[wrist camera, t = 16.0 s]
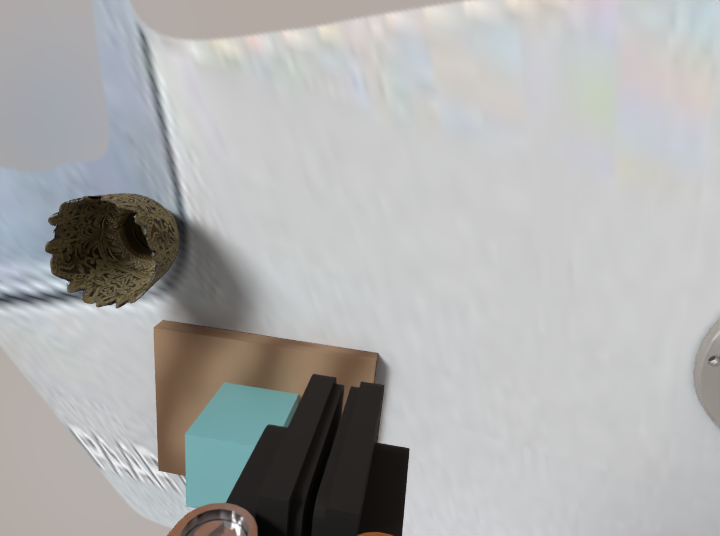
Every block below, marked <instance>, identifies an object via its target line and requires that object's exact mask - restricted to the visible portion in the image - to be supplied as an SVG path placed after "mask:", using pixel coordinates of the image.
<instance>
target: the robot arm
mask: <svg viewBox="0 0 720 536" xmlns="http://www.w3.org/2000/svg"><path fill="white" fill-rule="evenodd" d="M693 373H694V387H695V390H696V393H697V396H698V399H699V401H700V403H701V405H702V406H703V408H704V410H705V411H706V413H707V414H708V415H709V416H710V417H711V418H712V419H713V421H714V422H715V423H716V424H717V425H718V426H719V427H720V319H719V320H718V321H717V322H716V323H715V324H714V326H713V327H712V328H711V329H710V331H709V332H708V334H707V335H706V337H705V338H704V340H703V341H702V343H701V346H700V348H699V351H698V353H697V356H696V360H695V366H694V372H693ZM383 393H384V385H381V384H375V383H368V382H362V381H361V383H360V387H354V386H351V388H350V391H349V394H348V397H347V400H346V404H345V407H344V410H343V413H342V408H343V397H344V385H341V384H337V379H336V377H331V376H325V375H318V374H313V375H312V376H311V378H310V381H309V383H308V385H307V387H306V389H305V391H304V394H303V396H302V398H301V400H300V402H299V404H298V407H297V409H296V411H295V413H294V415H293V417H292V420H291V422H290V424H289V426H288V427H283V426H277V425H271V424H269V425H267V426H266V428H265V429H264V431H263V433H262V435H261V437H260V439H259V440H258V442H257V444H256V446H255V448H254V450H253V452H252V454H251V455H250V457H249V459H248V461H247V463H246V465H245V467H244V469H243V471H242V472H241V474H240V476H239V478H238V480H237V482H236V484H235V486H234V488H233V489H232V491H231V493H230V495H229V497H228V499H227V501H226V503H212V504H208V505H205V506H201V507H198V508H196V509H195V510H193V511H191V512H189V513H187V514H186V515H185V516H184V517H183V518H182V519H181V520H180V521H179V522H178V523H177V524H176V525H175V526H174V528H173V529H172V530H171V531H170V532H169V534H168V535H167V536H402V528H403V517H404V506H405V494H406V483H407V471H408V460H409V448H404V447H399V446H393V445H387V444H381V443H377V441H378V433H379V425H380V417H381V409H382V401H383Z"/></svg>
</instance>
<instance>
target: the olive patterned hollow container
mask: <svg viewBox="0 0 720 536" xmlns="http://www.w3.org/2000/svg"><path fill="white" fill-rule="evenodd" d="M48 222H49V223H50V224H52V225H54V226H56V224H57V226H56V228H55V230H54V231H53V233H54V234H55V238H54V239H53V240H51V241H50V242H47V243H46V246H45V251H46V252H47V253H50V254H53V255H52V258H51V260H50V266H51V272H52V274H53V275H55V276H57V277H59V278H61V279H65V280H67V281H68V282H70V284H69V285H68V284H67V291H68V292H69V293H73V292H77V291H83V295H82V300H83V301H84V302H85V303H90V304H93V303H95V302H96V307H102V306H106V305H112V304H114V303H116V308H119V307H121V306H123V305H125V304H126V303H129V302H130V303H134V302H136V301H137V300H138V299H139V298H140V297H141V296H143V295H144V294H145V292H146V291H148V290H149V289H150V288H151V287H152V286H153V285H154V284H155V283H156V282H157V281H158V280H159V279H160V278H161V277H162V276H163V275H164V274H165V273H166V272H167V271H168V269H169V268H170V267H171V265H172V264H173V262H174V260H175V258H176V256H177V253H178V248H179V227H178V223H177V221H176V219H175V217H174V216H173V215H172V213H171V212H169V211H168V210H167V209H165V208H164V207H163V206H162V205H161V204H159V203H158V202H156V201H154V200H152V199H150V198H148V197H145V196H142V195H137V194H108V195H98V196H84V197H83V198H78V199H73V200H70V201H67V202H64V203H62V204H61V206H60V208H59V212H58V213H55V214H53V215H52V216H51V217H50V218H49V219H48Z"/></svg>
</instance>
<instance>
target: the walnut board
mask: <svg viewBox="0 0 720 536" xmlns="http://www.w3.org/2000/svg"><path fill="white" fill-rule="evenodd" d="M154 352H155V381H156V409H157V438H158V467H159V471H163V472H168V473H174V474H179V475H184V476H186V462H185V433H186V432H187V431H188V430H189V428H190V427H191V426H192V424H193V423H194V422H195V420H196V419H197V418H198V416H199V415H200V414H201V412H202V411H203V410H204V408H205V407H206V406H207V405H208V403H209V402H210V401H211V399H212V398H213V397H214V395H215V394H216V393H217V391H218V390H219V389H220V387H221V386H222V385H223V383H224V382H226V383H232V384H238V385H244V386H250V387H257V388H263V389H269V390H275V391H282V392H288V393H294V394H299V395H298V404H299V402H300V400H301V398H302V396H303V394H304V391H305V389H306V387H307V385H308V383H309V381H310V378H311V376H312V375H313V374H318V375H325V376H331V377H336V379H337V384H341V385H344V397H343V408H342V413H343V410H344V407H345V404H346V400H347V397H348V394H349V391H350V388H351V386H354V387H360V383H361V381H362V382H368V383H374V382H375V373H376V365H377V356H378V353H373V352H367V351H360V350H354V349H347V348H341V347H334V346H328V345H321V344H315V343H309V342H302V341H296V340H289V339H283V338H276V337H270V336H263V335H257V334H250V333H244V332H237V331H231V330H224V329H218V328H211V327H205V326H198V325H192V324H185V323H179V322H172V321H166V320H162V321H161V322H160V323H159V324H157V325H156V326H155V327H154Z"/></svg>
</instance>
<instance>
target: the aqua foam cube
mask: <svg viewBox="0 0 720 536" xmlns="http://www.w3.org/2000/svg"><path fill="white" fill-rule="evenodd" d="M298 395H299V394H294V393H288V392H282V391H275V390H269V389H263V388H257V387H250V386H244V385H238V384H232V383H226V382H224V383H223V385H222V386H221V387H220V389H219V390H218V391H217V393H216V394H215V395H214V397H213V398H212V399H211V401H210V402H209V403H208V405H207V406H206V407H205V408H204V410H203V411H202V412H201V414H200V415H199V416H198V418H197V419H196V420H195V422H194V423H193V424H192V426H191V427H190V428H189V430H188V431H187V432H186V433H185V462H186V506H188V507H193V508H198V507H201V506H205V505H208V504H212V503H226V501H227V499H228V497H229V495H230V493H231V491H232V489H233V488H234V486H235V484H236V482H237V480H238V478H239V476H240V474H241V472H242V471H243V469H244V467H245V465H246V463H247V461H248V459H249V457H250V455H251V454H252V452H253V450H254V448H255V446H256V444H257V442H258V440H259V439H260V437H261V435H262V433H263V431H264V429H265V428H266V426H267V425H269V424H271V425H277V426H283V427H288V426H289V424H290V422H291V420H292V417H293V415H294V413H295V411H296V409H297V407H298Z"/></svg>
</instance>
